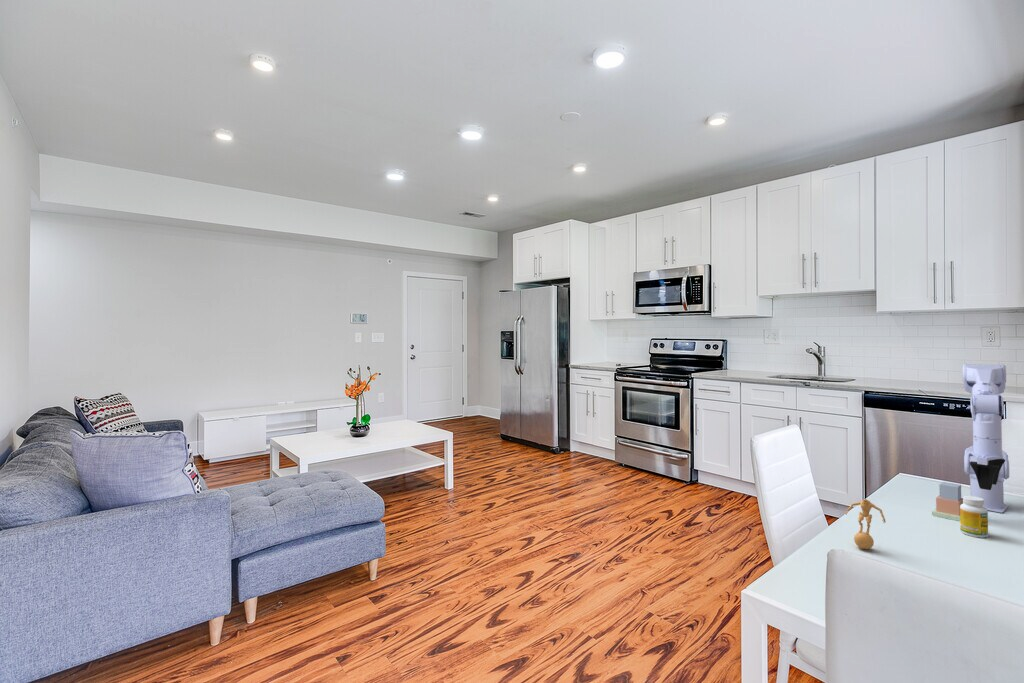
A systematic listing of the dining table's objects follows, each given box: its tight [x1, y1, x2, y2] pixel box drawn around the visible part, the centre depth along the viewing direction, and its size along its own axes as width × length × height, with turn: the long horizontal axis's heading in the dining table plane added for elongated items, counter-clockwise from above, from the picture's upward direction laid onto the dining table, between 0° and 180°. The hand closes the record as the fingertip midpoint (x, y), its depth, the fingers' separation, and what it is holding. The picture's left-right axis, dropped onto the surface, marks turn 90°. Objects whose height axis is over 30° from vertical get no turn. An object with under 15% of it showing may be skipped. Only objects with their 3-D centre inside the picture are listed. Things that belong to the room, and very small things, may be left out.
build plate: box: [931, 508, 960, 522], centre depth 142 cm, size 7×7×1 cm
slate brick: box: [939, 481, 962, 501], centre depth 142 cm, size 4×4×4 cm
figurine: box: [845, 498, 886, 550], centre depth 122 cm, size 8×6×12 cm
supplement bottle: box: [959, 495, 989, 539], centre depth 129 cm, size 5×5×10 cm
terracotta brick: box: [935, 494, 964, 516], centre depth 142 cm, size 5×5×4 cm
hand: (988, 486), depth 135 cm, fingers open, 7 cm apart
